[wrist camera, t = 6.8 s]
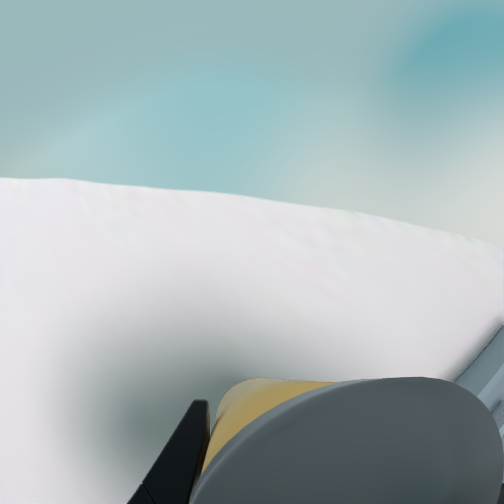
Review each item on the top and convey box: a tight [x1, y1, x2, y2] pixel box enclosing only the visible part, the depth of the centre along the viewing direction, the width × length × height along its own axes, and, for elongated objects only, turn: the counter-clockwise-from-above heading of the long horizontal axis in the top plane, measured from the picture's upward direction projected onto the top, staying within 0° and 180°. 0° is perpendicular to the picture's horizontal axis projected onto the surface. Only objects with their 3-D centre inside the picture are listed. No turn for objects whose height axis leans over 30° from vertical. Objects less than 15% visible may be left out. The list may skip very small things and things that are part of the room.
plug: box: [190, 377, 504, 504], centre depth 8 cm, size 4×4×13 cm
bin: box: [454, 326, 504, 452], centre depth 15 cm, size 20×20×5 cm
